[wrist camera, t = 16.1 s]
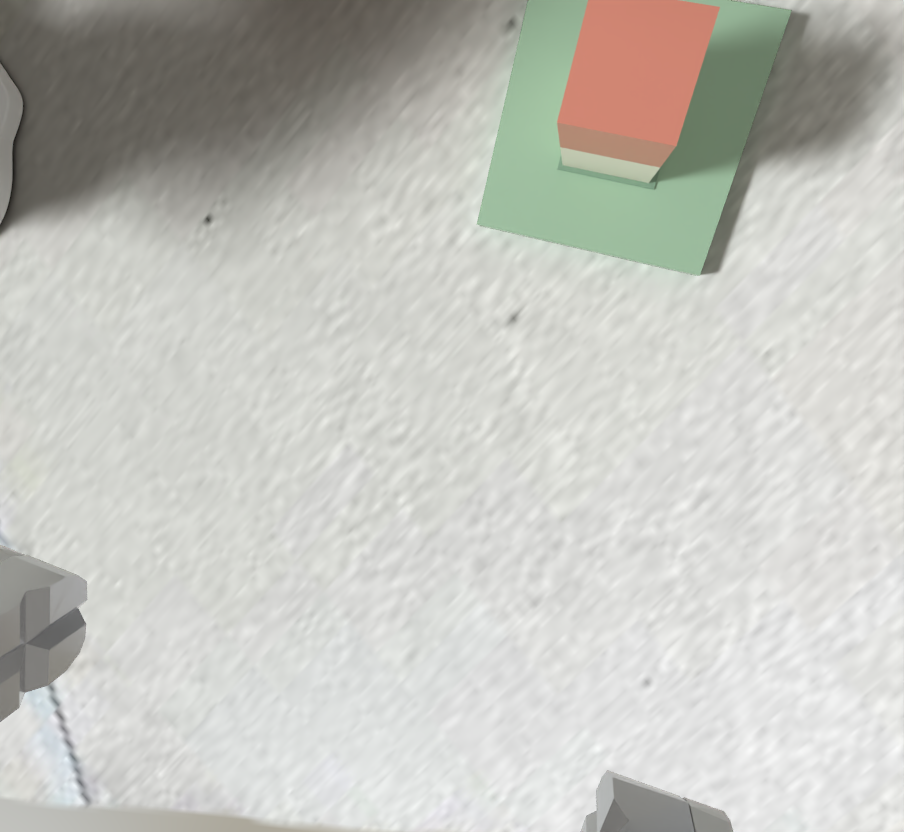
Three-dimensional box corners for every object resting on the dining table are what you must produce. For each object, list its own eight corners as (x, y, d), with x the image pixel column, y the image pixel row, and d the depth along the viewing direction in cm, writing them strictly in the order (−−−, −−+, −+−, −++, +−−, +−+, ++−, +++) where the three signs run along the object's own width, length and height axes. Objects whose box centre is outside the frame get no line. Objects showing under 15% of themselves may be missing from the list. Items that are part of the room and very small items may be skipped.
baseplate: (480, 225, 34) (476, 223, 33) (536, -19, 30) (534, -32, 29) (695, 275, 32) (700, 275, 31) (783, 20, 28) (792, 9, 27)
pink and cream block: (562, 165, 31) (556, 122, 23) (587, 70, 30) (591, -14, 21) (648, 183, 30) (676, 146, 22) (678, 86, 29) (720, 6, 21)
